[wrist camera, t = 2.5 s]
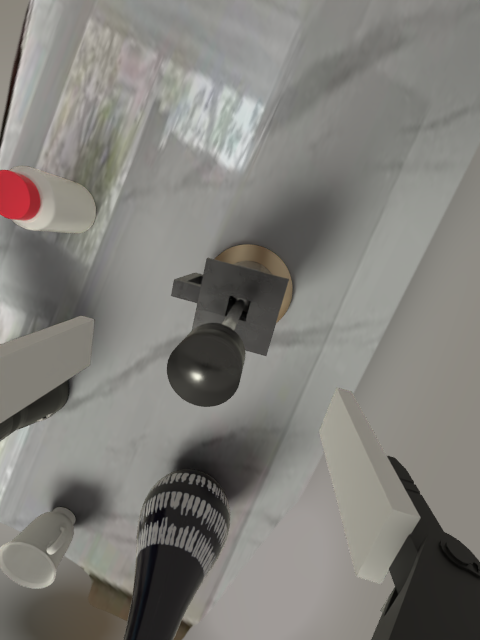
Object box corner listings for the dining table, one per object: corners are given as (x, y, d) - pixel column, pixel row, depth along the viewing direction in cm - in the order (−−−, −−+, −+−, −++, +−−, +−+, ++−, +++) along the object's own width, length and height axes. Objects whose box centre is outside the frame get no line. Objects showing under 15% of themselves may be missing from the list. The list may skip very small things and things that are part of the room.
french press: (192, 304, 44) (161, 327, 31) (203, 248, 41) (174, 248, 29) (267, 325, 43) (266, 356, 31) (284, 269, 41) (290, 278, 28)
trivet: (197, 319, 45) (195, 320, 44) (215, 234, 41) (214, 234, 41) (277, 341, 45) (277, 342, 44) (303, 257, 41) (304, 257, 40)
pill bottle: (41, 193, 43) (-34, 176, 32) (81, 172, 41) (16, 146, 31) (66, 241, 44) (1, 238, 34) (104, 222, 43) (50, 214, 32)
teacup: (108, 519, 60) (77, 572, 50) (65, 543, 63) (28, 596, 54) (70, 481, 58) (31, 528, 48) (29, 508, 62) (-16, 557, 52)
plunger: (206, 322, 34) (130, 411, 15) (219, 266, 32) (148, 291, 13) (261, 336, 34) (251, 446, 15) (277, 281, 32) (288, 329, 13)
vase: (147, 494, 57) (25, 742, 28) (174, 439, 52) (60, 667, 24) (215, 526, 57) (161, 803, 29) (247, 474, 52) (221, 740, 24)
